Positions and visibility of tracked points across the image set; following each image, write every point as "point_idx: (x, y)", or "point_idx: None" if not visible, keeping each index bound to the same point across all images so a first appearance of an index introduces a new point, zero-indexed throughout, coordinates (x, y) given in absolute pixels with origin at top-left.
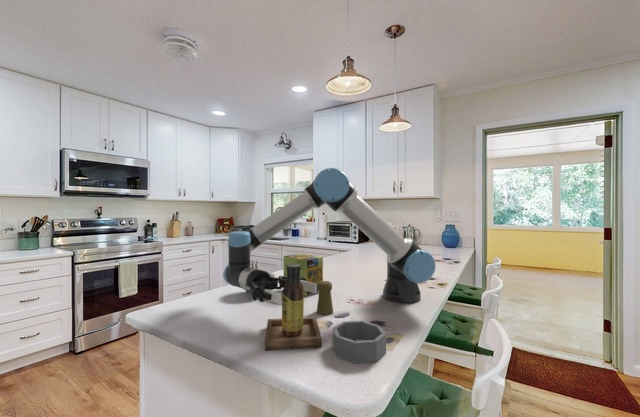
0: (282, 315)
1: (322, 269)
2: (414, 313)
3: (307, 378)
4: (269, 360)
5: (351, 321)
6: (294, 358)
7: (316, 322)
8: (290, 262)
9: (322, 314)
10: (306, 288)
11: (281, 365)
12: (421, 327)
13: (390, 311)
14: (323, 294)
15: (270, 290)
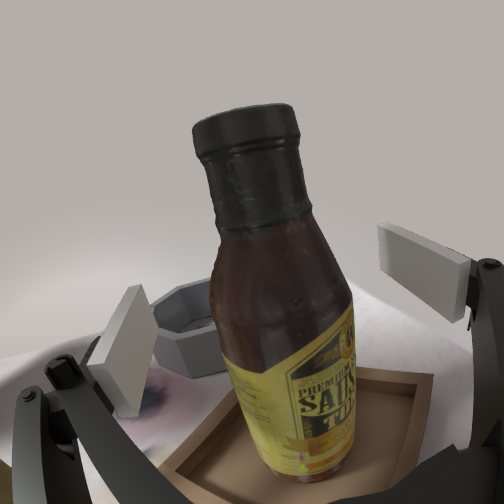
0: (355, 396)
1: None
2: (10, 371)
3: (356, 303)
4: (419, 355)
5: (161, 334)
6: (358, 351)
7: (192, 436)
8: None
9: None
10: (142, 355)
11: (394, 336)
12: (64, 343)
13: (5, 399)
14: (8, 475)
15: (432, 249)
